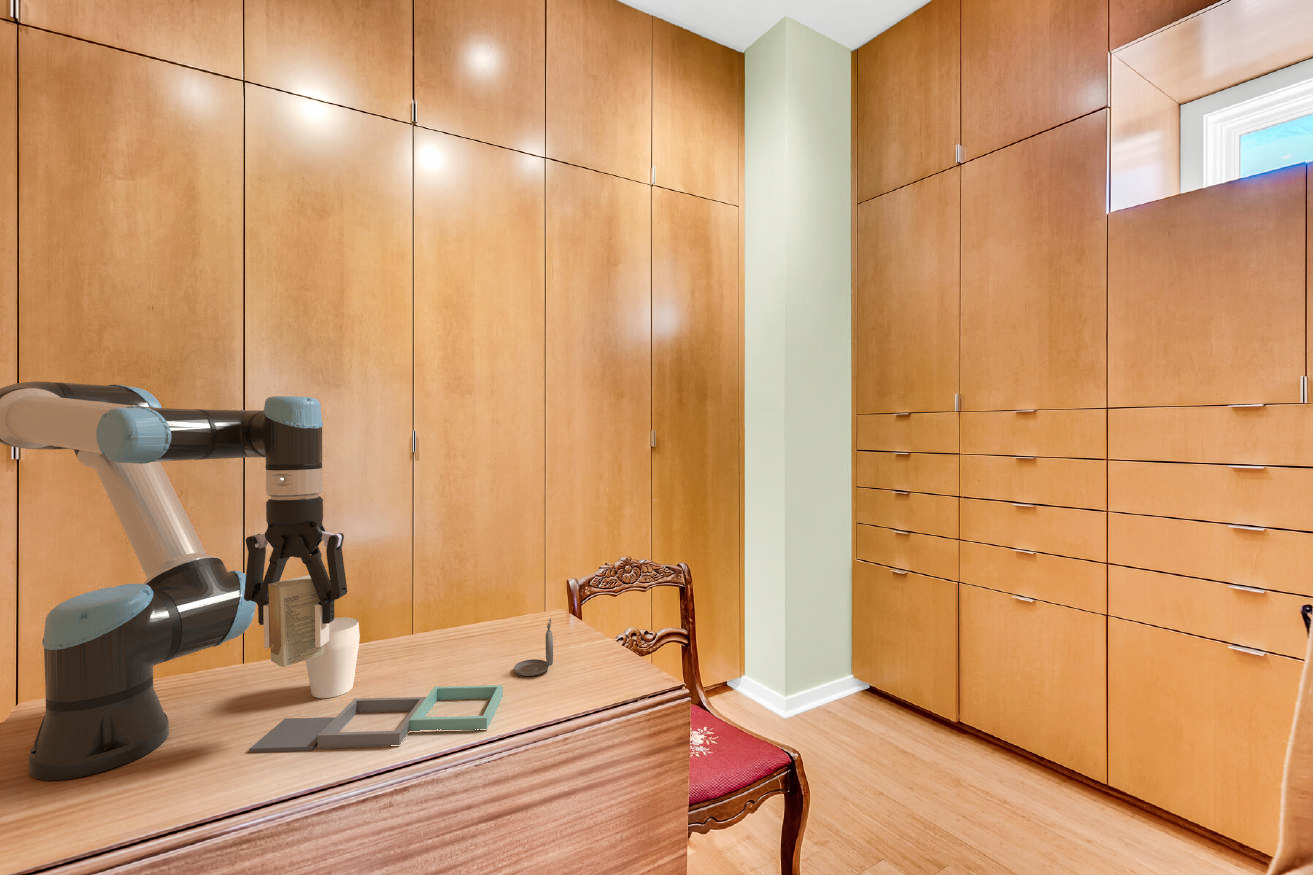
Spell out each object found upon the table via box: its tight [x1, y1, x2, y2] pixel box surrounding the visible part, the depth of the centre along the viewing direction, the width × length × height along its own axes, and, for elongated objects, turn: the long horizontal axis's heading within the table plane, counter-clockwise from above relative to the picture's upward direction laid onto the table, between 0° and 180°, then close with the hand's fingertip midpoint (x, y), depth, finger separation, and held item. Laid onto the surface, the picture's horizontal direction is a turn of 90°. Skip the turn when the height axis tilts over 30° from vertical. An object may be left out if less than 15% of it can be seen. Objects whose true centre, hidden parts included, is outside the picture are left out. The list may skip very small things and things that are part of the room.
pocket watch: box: [513, 617, 554, 677], centre depth 117 cm, size 8×8×10 cm
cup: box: [305, 617, 361, 699], centre depth 108 cm, size 9×9×12 cm
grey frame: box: [317, 696, 427, 750], centre depth 95 cm, size 12×12×2 cm
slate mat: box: [249, 716, 337, 753], centre depth 92 cm, size 9×9×1 cm
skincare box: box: [268, 574, 324, 668], centre depth 92 cm, size 6×4×12 cm
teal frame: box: [409, 684, 504, 731], centre depth 99 cm, size 12×12×2 cm
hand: (297, 644), depth 92 cm, fingers closed on skincare box, 7 cm apart
